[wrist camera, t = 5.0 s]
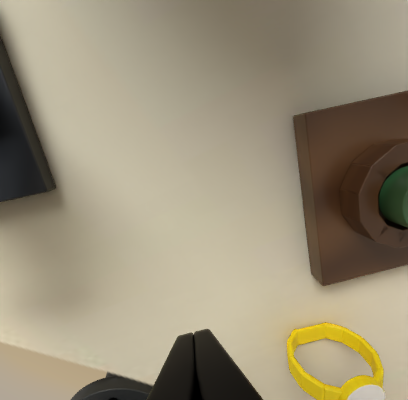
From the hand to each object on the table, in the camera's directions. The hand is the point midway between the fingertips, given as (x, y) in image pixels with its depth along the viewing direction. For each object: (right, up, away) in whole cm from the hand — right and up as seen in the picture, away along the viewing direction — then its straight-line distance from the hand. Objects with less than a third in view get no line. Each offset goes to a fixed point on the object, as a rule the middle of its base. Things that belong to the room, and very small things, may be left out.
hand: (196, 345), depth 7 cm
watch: (+9, -7, +14) cm, 18 cm away
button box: (+12, +5, +12) cm, 17 cm away
